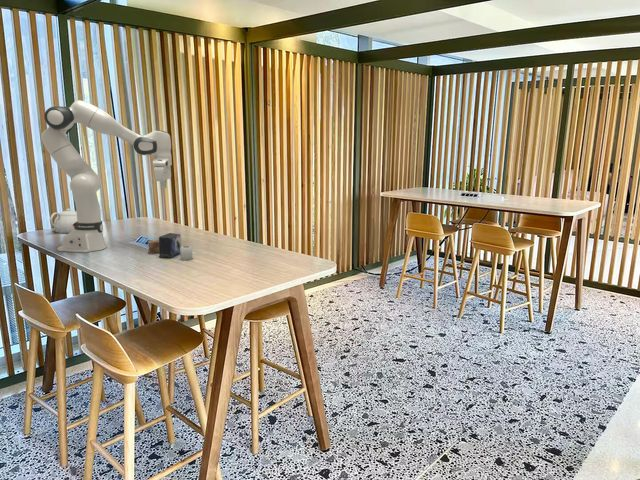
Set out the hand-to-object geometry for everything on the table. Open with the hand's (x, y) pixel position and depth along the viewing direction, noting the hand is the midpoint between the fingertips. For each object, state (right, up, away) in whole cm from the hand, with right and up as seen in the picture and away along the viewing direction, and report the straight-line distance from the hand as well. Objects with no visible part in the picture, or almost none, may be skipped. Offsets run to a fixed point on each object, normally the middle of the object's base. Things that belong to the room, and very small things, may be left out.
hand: (163, 188), depth 242 cm
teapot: (-69, -22, +35) cm, 80 cm away
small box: (+8, -35, -13) cm, 38 cm away
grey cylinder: (+17, -37, -18) cm, 44 cm away
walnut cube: (-2, -34, -8) cm, 35 cm away
